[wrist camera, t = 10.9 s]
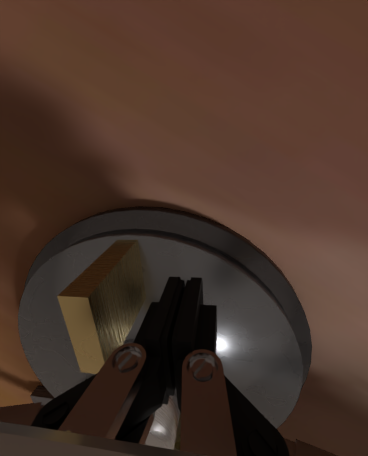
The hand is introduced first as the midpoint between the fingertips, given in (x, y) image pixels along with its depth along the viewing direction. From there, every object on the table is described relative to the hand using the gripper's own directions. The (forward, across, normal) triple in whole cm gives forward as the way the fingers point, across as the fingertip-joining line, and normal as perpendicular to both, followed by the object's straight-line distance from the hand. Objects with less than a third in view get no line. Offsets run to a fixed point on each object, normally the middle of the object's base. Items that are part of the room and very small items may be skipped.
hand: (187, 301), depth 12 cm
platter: (+3, +3, +7) cm, 8 cm away
